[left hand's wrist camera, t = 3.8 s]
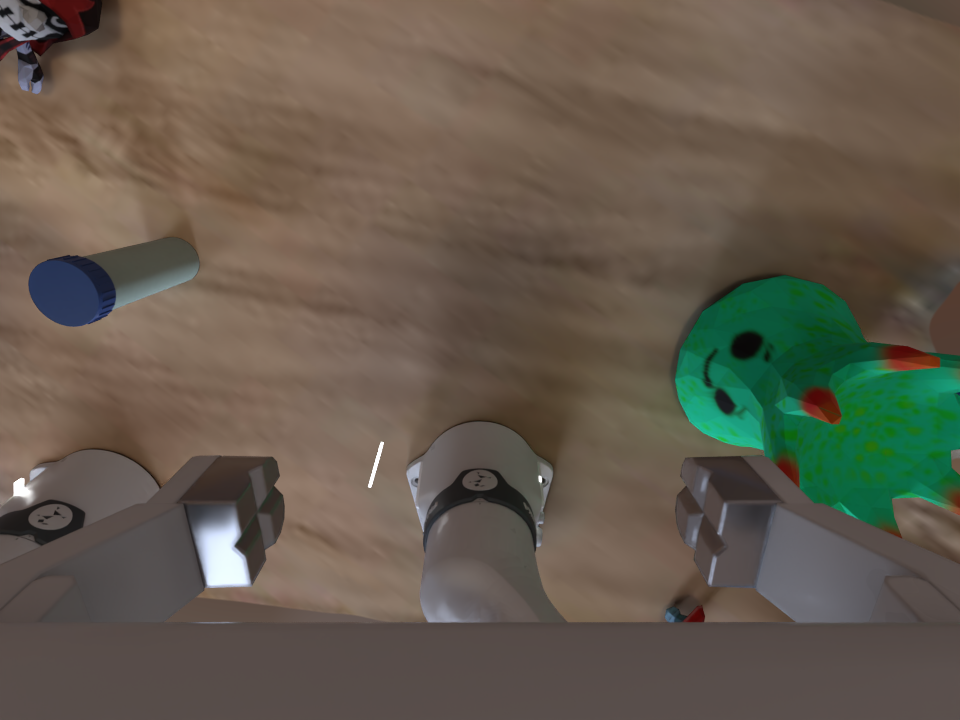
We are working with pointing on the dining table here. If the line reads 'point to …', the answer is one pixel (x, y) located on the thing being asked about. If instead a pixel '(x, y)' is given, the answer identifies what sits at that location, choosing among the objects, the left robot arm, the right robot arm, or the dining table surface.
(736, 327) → the toy
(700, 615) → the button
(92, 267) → the lid
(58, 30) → the toy
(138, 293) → the pale green cylinder
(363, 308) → the dining table surface
